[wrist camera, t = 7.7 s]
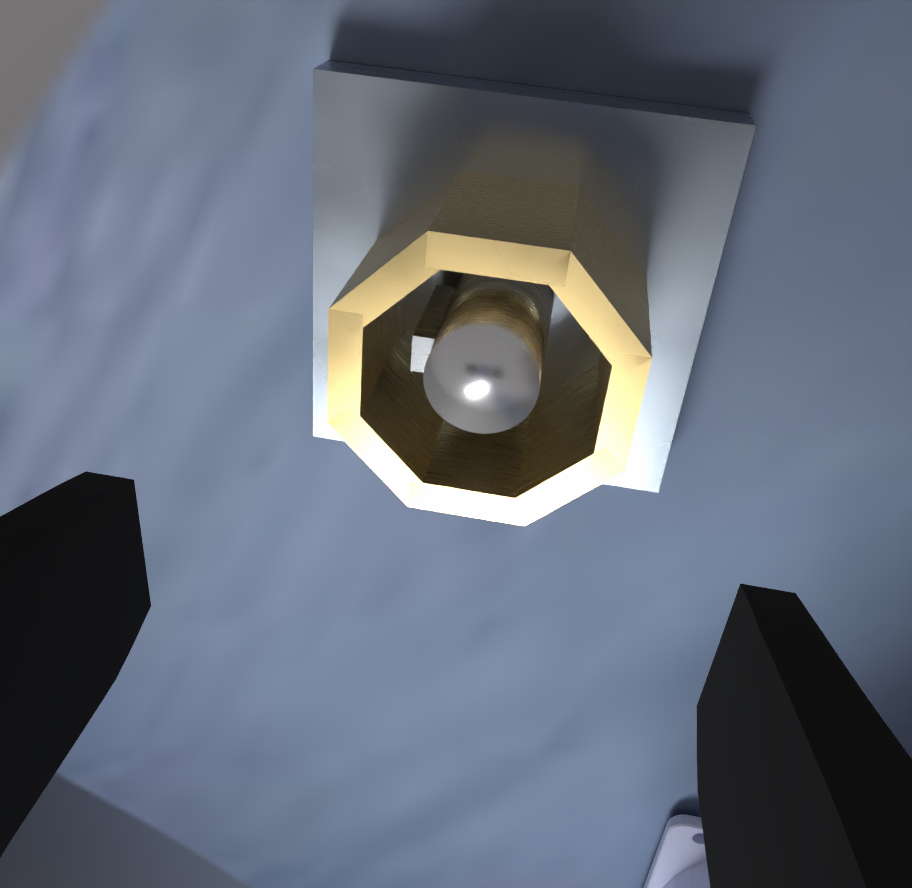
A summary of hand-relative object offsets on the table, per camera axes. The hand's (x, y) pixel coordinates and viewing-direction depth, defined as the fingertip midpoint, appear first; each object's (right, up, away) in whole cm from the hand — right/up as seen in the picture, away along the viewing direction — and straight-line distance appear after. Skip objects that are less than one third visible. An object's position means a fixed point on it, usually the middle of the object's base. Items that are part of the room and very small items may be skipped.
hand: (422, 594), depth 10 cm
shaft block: (+2, +5, +8) cm, 10 cm away
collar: (+1, +5, +7) cm, 9 cm away
